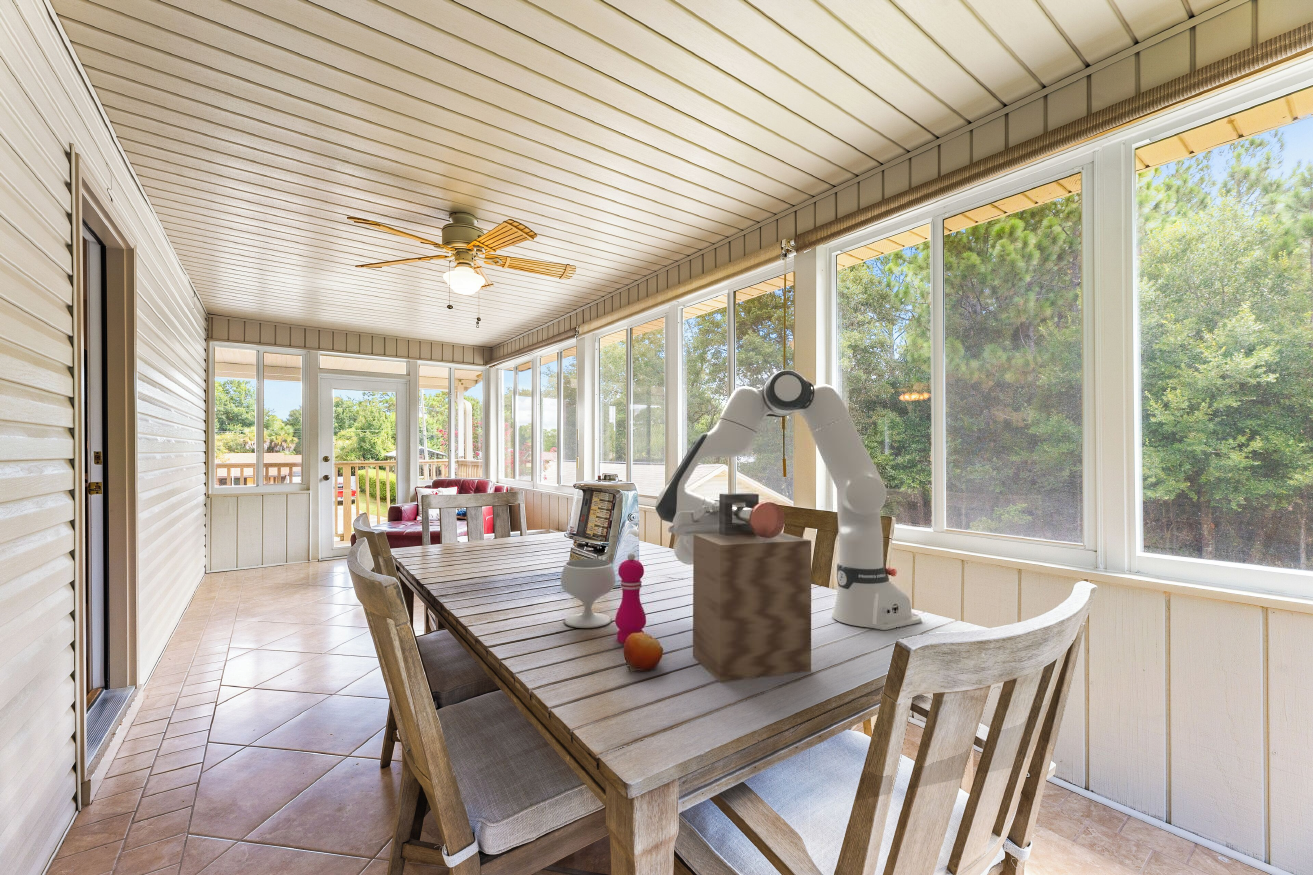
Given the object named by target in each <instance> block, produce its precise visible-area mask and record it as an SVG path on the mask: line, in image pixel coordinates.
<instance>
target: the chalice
mask: <svg viewBox="0 0 1313 875" xmlns="http://www.w3.org/2000/svg"><path fill="white" fill-rule="evenodd" d="M560 576H561V577H560V585H561V587H562V590H564V592H565V593H566V594H568V595H570V596H572V597H574V598H576V599H578V600H579V601H580V602H581V603H582V605H583V607H584V608H583V609H584V610H583V612H582V613H575V614H571V615H568V616H567V617H565V618H564V619H563V623H564V624H565V625H567V626H569V627H571V628H572V627H574V628H580V629H590V628H591V629H594V628H599V627H603V626H606V625H609V624H610V623H611V622H612V618H611V616H609V615H607V614H604V613H598V612H593V609H592V607H593V606H594V605H593V604H594V603H595V602H596V601H597V600H598V599H600V598H601V597H603V596H605V595H607V594H608V593H610V592H611V591H612V590H613V589H614V587H615V586H616V582H617V581H616V580H617V579H616V572H615V569H614V566H613V563H612V562H611V561H609V560H607V559H602V558H601V559H600V558H578V559H573V560H569V561H567V562H566V563H565V564H564V566H563V569H562V571H561V575H560Z"/></svg>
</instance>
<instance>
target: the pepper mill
mask: <svg viewBox="0 0 1313 875" xmlns="http://www.w3.org/2000/svg"><path fill="white" fill-rule="evenodd" d="M617 572H618V576H619V578H620V579H621V580H620V582H619V583H620V586H619V587H620V588H621V589H622V590H621V592H622V595H621V596H622V597H621V602H620V604H619V607H618V609H617V612H616V614H615V618H614V623H615V626H616V627H617V629H618V630H617V632H616V638H617V639H616V640H617V641H618V642H619V643H621V644H625V641H626V639H627V637H628V636H629V635H630V634H632V633H640V632H643V633H645V632H644V630H643V629H644V627H645V626H646V624H647V615H646V612H645V610H644V607H643V605H642V603H641V602H642V601H641V598H640V592H641V588H642V587H643V585H642V581H643V580H642V578H643V576H644V574H645V568H644V565H643V564H642V562H641V561H640V560H637V559H636V555H635V554H634V553H632V552H630V553H628V555H627V559H626V560H624V561H622V562H621V563H620V564H619V566H618V570H617Z"/></svg>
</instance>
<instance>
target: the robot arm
mask: <svg viewBox="0 0 1313 875" xmlns="http://www.w3.org/2000/svg"><path fill="white" fill-rule="evenodd" d="M793 413H797V414H799V415H800V416H802V418H803V419H804V420H805V422H806V424H807V426H808V428H809V431H810V434H811V436H812V438H813V440H814V442H815V445H816V447H817V450H818V452H819V454H820V457H821V459H822V460H823V461H822V462H824V465H825V467H826V469H827V471H828V474H829V475H830V477H831V479H832V481H833V483H834V486H835V488H836V503H837V504H836V506H837V508H836V509H837V529H838V563H836V580H837V591H836V598H835V599H836V600H835V604H834V607H833V612H832V615H831V617H832V618H833V619H834V620H836V621H838V622H840V623H843V624H846V625H850V626H856V627H863V628H864V627H865V628H871V629H877V630H880V631H881V630H883V631H887V630H891V629H896V627H897V628H899V627H905V626H910V625H914V624H920V623H922V618H921V616H919V615H918V614H916V613H915V612H912V611H913V610H912V604H911V601H910V600H911V599H910V597H909V596H908V595H907V594H906V593H905V592H904V591H903V590H902V589H901V588H899V587H898V586H896V585H895V584H894V583H892V582H891V581H890V578H889V576H891V577H896V576H897V574H898V571H897V569H896V568H892V567H885V566H884V534H883V527H882V526H883V525H882V517H881V509H882V508H883V506H884V505H885V503H886V501H887V498H888V497H887V494H888V492H887V488H886V484H885V483H884V481H883V479H882V477H881V474H880V473H879V471H878V468H877V466H876V465H875V463H874V461H873V459H872V457H871V456H870V453H869V452H868V450H867V449H866V447H865V444H864V443H863V441H862V438H861V436H860V434H859V431H858V430H857V427H856V425H855V423H854V421H853V418H852V416H851V414H850V412H849V410H848V408H847V406H846V404H845V403H844V401H843V399H842V397H841V396H840V395H839V394H838V392H837V391H836V390H835V388H834V387H833V386H831V385H829V384H818V385H817V384H816V385H814V384H813V383H811V382H810V381H809V380H808V379H806V378H805V377H804V376H802V375H801V374H800V373H799V372H796V371H794V370H791V369H782V370H780V371H776V372H775V373H773V374H772V375H771V376H770V377H769V379H768V380H767V381H766V382H765V384H764V385H763V387H761V388H754V387H752V386H739V387H737V388H735V389H734V391H733V392H732V393H731V395H730V397H729V398H728V400H727V401H726V403H725V405H724V407H723V409H722V411H721V413H720V416H719V418H718V420H717V422H716V424H715V426H714V427H713V428H711V429H710V430H709V431H708V432H702V433H701V434H700V435H699V436H698V437H697V438H696V439H695V440H694V442H693V443H692V444H691V446H690V447H689V450H688V451H687V452H686V454H685V455H684V457H683V459H682V460H681V462H680V464H679V465H678V467H677V469H676V470H675V471H674V473H673V475H672V476H671V479H669V481H668V483H667V484H666V486H664V488H663V489H662V490H661V491H660V492H659V495H657V496H658V497H657V498H656V501H655V502H656V503H655V508H654V509H655V511H656V514H657V515H658V517H659V518H660V520H661V521H664V522H668V523H671V524H672V525H669V527H668V529H667V531H668V533H671V534H673V535H675V536H678V537H677V539H676V541H675V543H674V547H673V553H674V556H675V557H676V559H677V560H678V561H679V562H681V563H682V564H684V565H688V566H690V565H691V566H693V539H694V534H714V533H719V514H715V513H714V512H713V511H712V504H713V503H714V502H716V500H714V499H712V498H709V497H706V496H704V495H700V494H698V493H695V492H694V491H691V490H688V489H687V488H686V487H685V486H686V484H687V483H688V481H689V480H690V478H691V476H692V474H693V473H694V471H695V470H696V468H697V467H698V465H699V464H700V462H702V461H703V460H705V459H710V458H735V457H738V456H739V457H740V456H742V455H744V454H745V453H747V452H748V451H749V450H750V449H751V447H752V446H753V443H754V441H755V439H756V436H757V434H758V432H759V429H760V427H761V424H762V422H763V421H764V418H765V417H775V418H784V417H788V416H790V415H792V414H793ZM739 506H742V507H745V504H741V505H739ZM739 522H744V521H741V520H737V519H733V518H732V523H739Z"/></svg>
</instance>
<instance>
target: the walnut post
mask: <svg viewBox="0 0 1313 875" xmlns="http://www.w3.org/2000/svg"><path fill="white" fill-rule="evenodd" d="M759 496H760V494H758V493H753V492H752V493H751V492H750V493H749V492H747V493H719V496H718V497H719V498H718V501H719V533H714V534H694V539H693V565H692V567H693V568H692V570H693V571H692V577H693V578H692V579H693V580H692V582H693V583H692V584H693V585H692V589H693V590H692V594H693V595H692V658H693V659H695V660H696V661H697V662H698V663H699V664H700V665H701V666H702V667H703V668H704V669H705V670H706V671H707V672H709V674H711V676H713V677H714V678H715V680H717V681H718V683H726V682H734V681H742V680H749V679H756V678H757V679H758V678H765V677H772V676H780V675H788V674H795V673H805V672H811V671H812V540H811V539H808V538H807V539H806V538H803V537H799V536H795V535H792V534H789V533H785V532H783V531H781V532H780V533H779V534H778V535H777V536H775V537H773V538H764V537H761V536H758V535H757V534H755V533H754V532H753V531H752V529H751V527H750V523H748V522H739V523H732V504H744V505H745V507H747V508H751V509H753V508H754V507H755V506H756V505H757V504H758V503H760V502H759V501H760V500H759V498H760V497H759Z"/></svg>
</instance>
